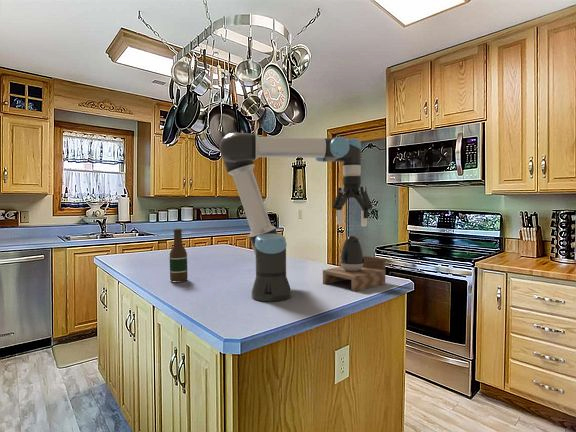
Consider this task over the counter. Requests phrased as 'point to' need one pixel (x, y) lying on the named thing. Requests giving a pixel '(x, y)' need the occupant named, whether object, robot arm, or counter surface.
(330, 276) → the walnut shelf
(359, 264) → the dark grey egg shape
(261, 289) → the robot arm
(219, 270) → the counter surface
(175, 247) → the beer bottle
